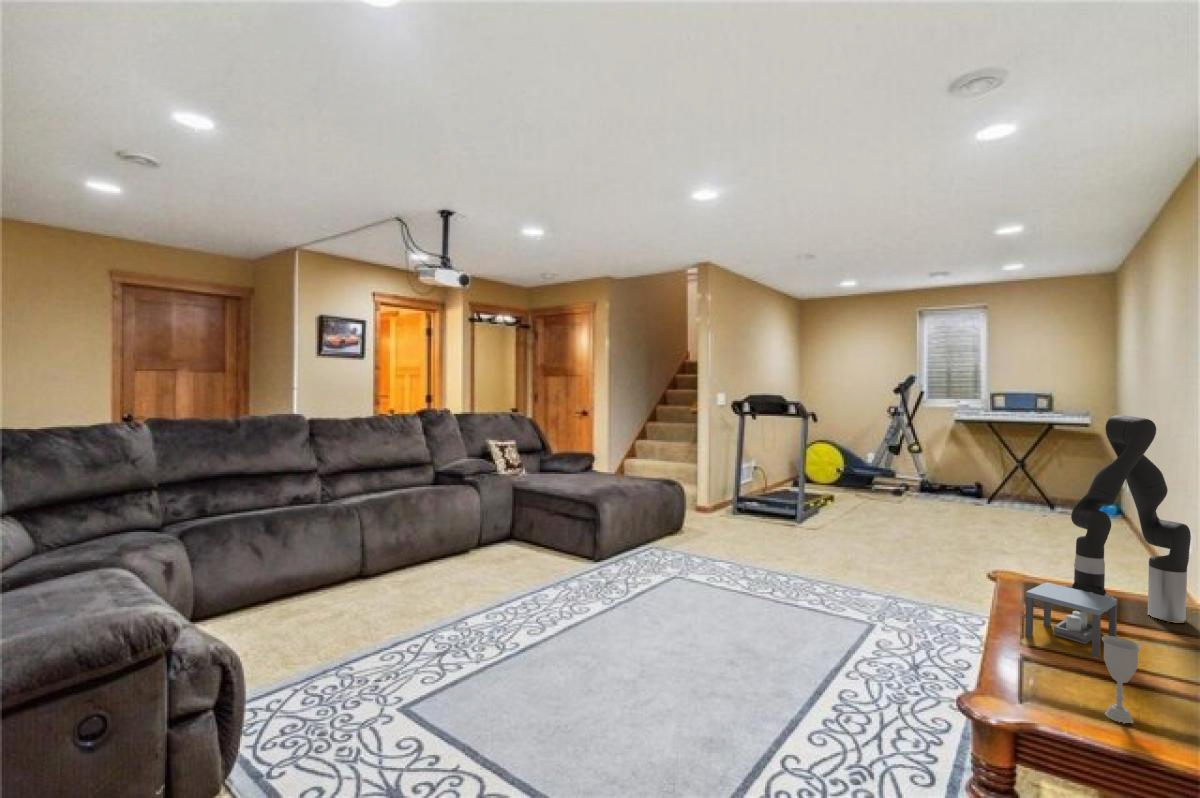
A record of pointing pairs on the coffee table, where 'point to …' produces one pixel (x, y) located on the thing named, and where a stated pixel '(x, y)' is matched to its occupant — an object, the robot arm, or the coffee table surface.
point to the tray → (1073, 634)
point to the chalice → (1120, 671)
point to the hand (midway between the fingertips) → (1088, 621)
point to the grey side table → (1075, 601)
